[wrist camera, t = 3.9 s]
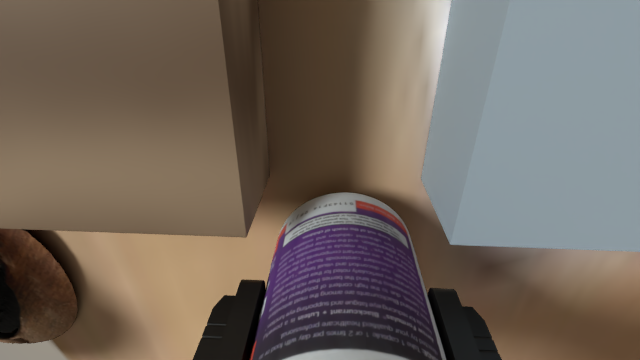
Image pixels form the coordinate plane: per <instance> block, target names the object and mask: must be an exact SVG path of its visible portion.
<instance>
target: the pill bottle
mask: <svg viewBox="0 0 640 360" xmlns="http://www.w3.org/2000/svg"><path fill="white" fill-rule="evenodd" d="M249 360H446V356H445V353H444V350H443V346H442V343H441V339H440V336H439V333H438V329H437V326H436V323H435V319H434V316H433V313H432V309H431V306H430V303H429V299H428V296H427V292H426V289H425V286H424V282H423V279H422V275H421V272H420V268H419V265H418V261H417V257H416V254H415V250H414V247H413V244H412V240H411V237H410V234H409V231H408V229H407V227H406V225H405V223H404V222H403V220H402V219H401V218H400V217H399V215H398V214H397V213H396V212H395V211H394V210H393V209H391V208H390V207H389V206H387V205H386V204H384V203H383V202H381V201H379V200H377V199H375V198H372V197H369V196H366V195H362V194H357V193H348V192H341V193H332V194H327V195H323V196H319V197H317V198H314V199H312V200H310V201H308V202H306V203H304V204H302V205H301V206H300V207H298V208H297V209H296V210H295V211H294V212H293V213H292V214H291V215H290V216H289V217H288V218H287V220H286V221H285V223H284V225H283V226H282V228H281V231H280V233H279V236H278V240H277V243H276V247H275V251H274V255H273V260H272V264H271V269H270V273H269V277H268V281H267V286H266V291H265V294H264V299H263V303H262V308H261V312H260V315H259V320H258V325H257V329H256V333H255V337H254V342H253V346H252V351H251V355H250V359H249Z"/></svg>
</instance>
